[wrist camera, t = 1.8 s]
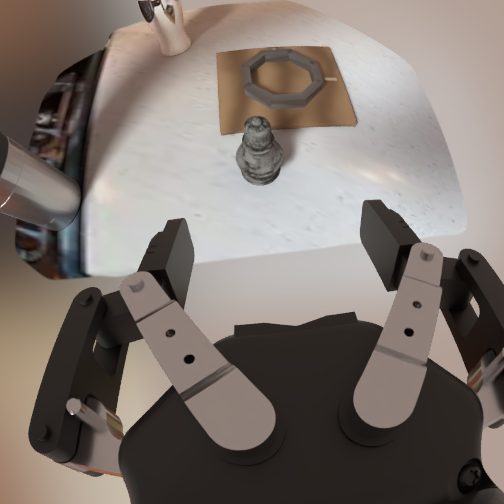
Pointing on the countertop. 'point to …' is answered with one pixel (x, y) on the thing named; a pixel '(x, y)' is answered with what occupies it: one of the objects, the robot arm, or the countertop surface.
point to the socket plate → (281, 88)
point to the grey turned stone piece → (259, 152)
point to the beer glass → (166, 24)
